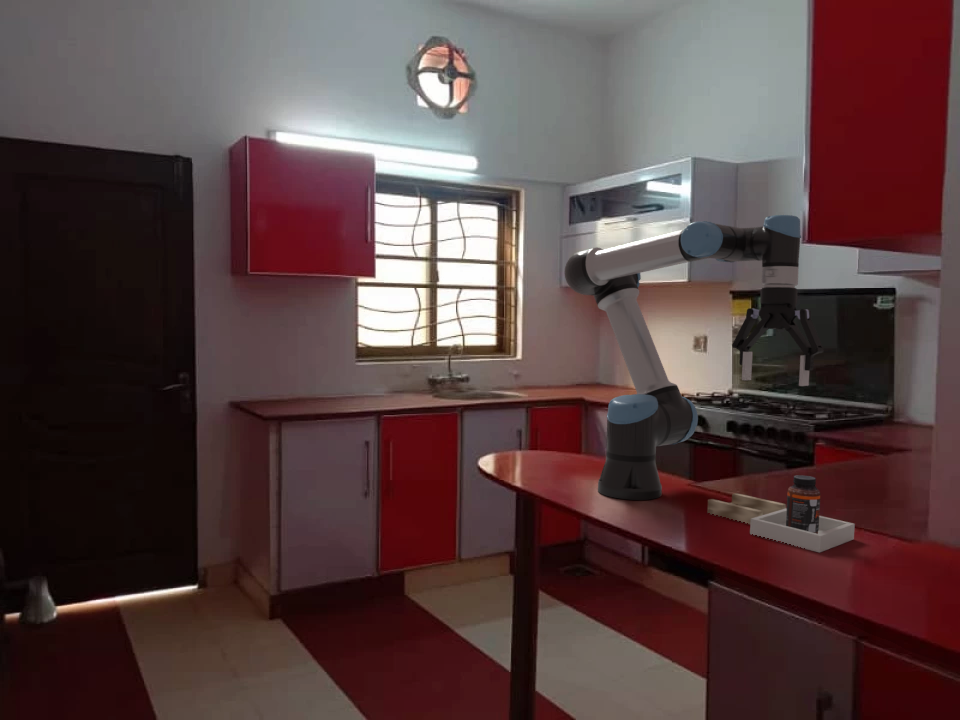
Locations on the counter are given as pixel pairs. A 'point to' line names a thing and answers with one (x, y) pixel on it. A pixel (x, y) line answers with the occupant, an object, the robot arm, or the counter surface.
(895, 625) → the counter surface
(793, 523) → the supplement bottle
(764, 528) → the tray
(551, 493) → the counter surface
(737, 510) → the cradle
